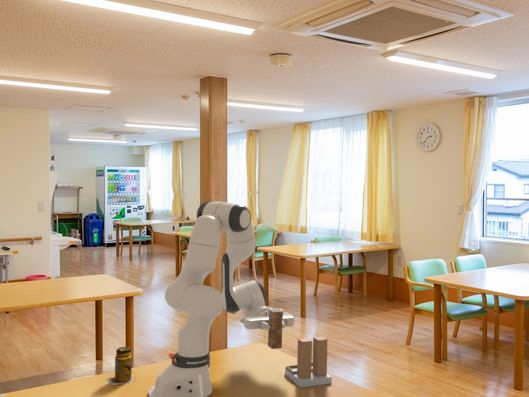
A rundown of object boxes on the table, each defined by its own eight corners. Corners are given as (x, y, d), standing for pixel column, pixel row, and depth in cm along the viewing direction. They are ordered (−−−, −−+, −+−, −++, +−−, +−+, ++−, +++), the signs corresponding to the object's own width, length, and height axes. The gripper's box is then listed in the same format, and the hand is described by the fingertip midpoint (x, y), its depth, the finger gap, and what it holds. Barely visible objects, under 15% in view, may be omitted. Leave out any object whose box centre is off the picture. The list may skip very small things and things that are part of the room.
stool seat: (300, 387, 186) (301, 343, 186) (285, 374, 199) (286, 333, 199) (331, 383, 191) (332, 340, 191) (314, 370, 204) (315, 330, 204)
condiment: (134, 381, 189) (135, 349, 189) (112, 386, 185) (112, 353, 184) (128, 375, 195) (129, 344, 195) (106, 379, 191) (106, 348, 190)
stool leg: (272, 349, 190) (273, 312, 189) (267, 345, 193) (269, 309, 193) (281, 348, 191) (282, 311, 191) (277, 344, 195) (278, 309, 195)
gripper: (238, 311, 200) (250, 320, 187) (285, 308, 208) (300, 316, 195) (238, 327, 200) (250, 337, 187) (285, 323, 208) (299, 332, 195)
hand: (276, 326), depth 191 cm, fingers closed on stool leg, 4 cm apart
